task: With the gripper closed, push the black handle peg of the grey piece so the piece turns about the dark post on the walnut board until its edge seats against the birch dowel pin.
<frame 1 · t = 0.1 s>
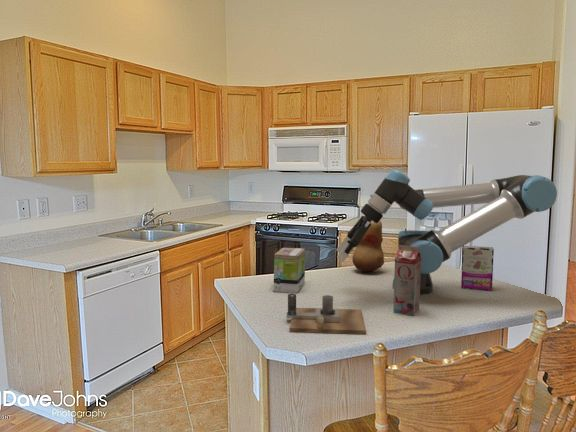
hand: (339, 255, 157), 15 cm above the counter, tool tilted 35°, fingers open, 13 cm apart
board: (327, 321, 134), on the counter
tea box: (289, 287, 172), on the counter
candy bar box: (476, 288, 170), on the counter
juice carton: (406, 312, 143), on the counter
grey piece: (313, 306, 134), point 5 cm above the counter, hinge at 0.0°
butternut squash: (367, 272, 195), on the counter
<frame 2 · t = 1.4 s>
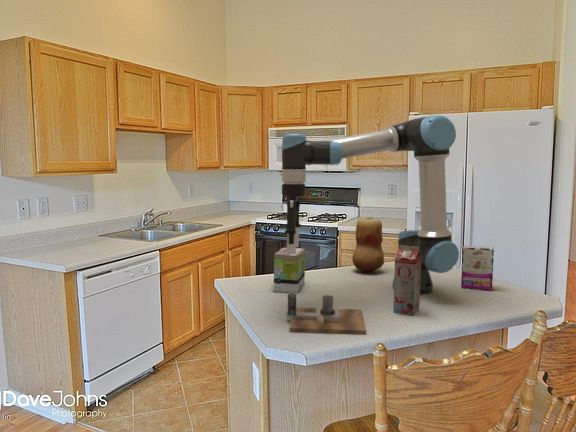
hand: (293, 250, 140), 21 cm above the counter, tool pointing down, fingers open, 12 cm apart
nothing on the counter moved.
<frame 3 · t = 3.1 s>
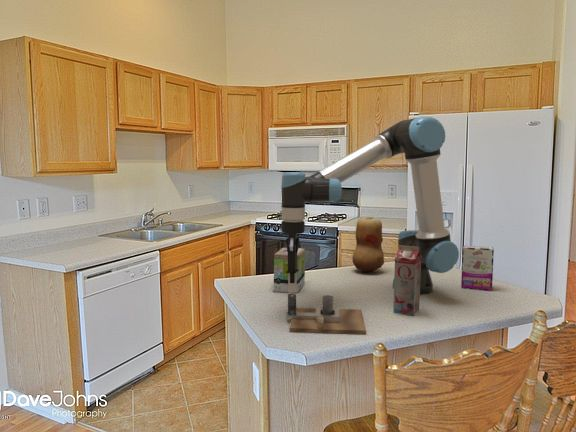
hand: (292, 291, 142), 7 cm above the counter, tool pointing down, fingers closed
nothing on the counter moved.
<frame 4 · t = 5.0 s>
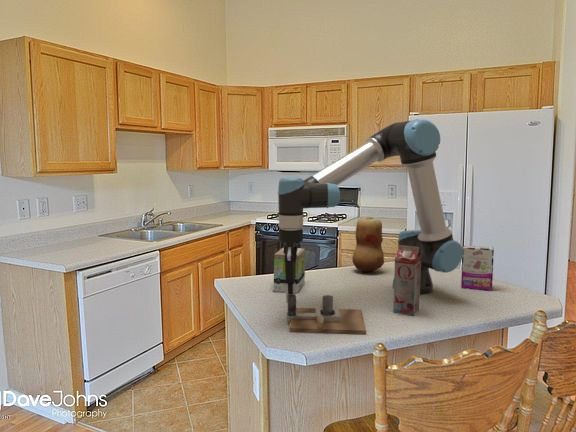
hand: (290, 302, 135), 5 cm above the counter, tool pointing down, fingers closed
grey piece: (313, 306, 133), point 5 cm above the counter, hinge at 3.7°, touching gripper
everything else where it was.
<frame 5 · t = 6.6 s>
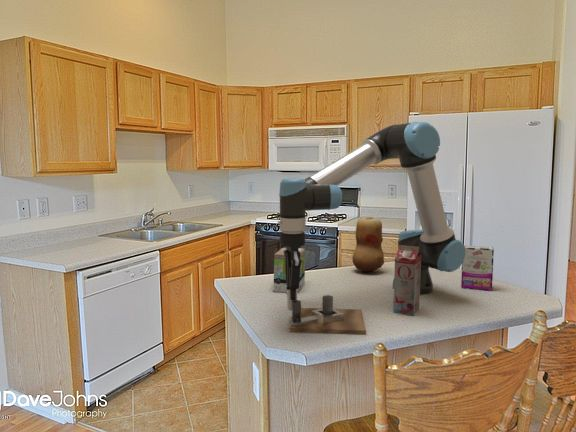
hand: (292, 309, 130), 5 cm above the counter, tool pointing down, fingers closed
grey piece: (315, 309, 131), point 5 cm above the counter, hinge at 33.7°, touching gripper
everything else where it was.
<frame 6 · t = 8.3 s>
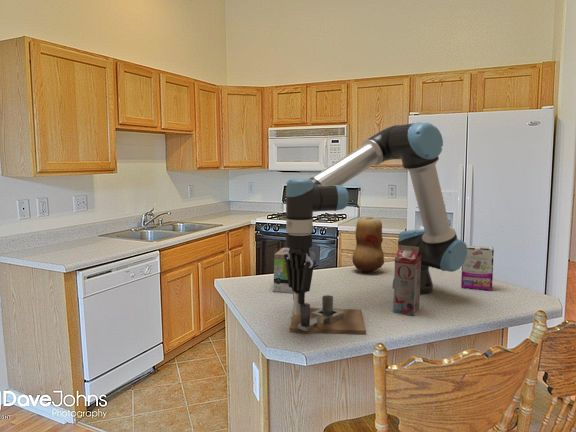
hand: (298, 313, 126), 5 cm above the counter, tool pointing down, fingers closed
grey piece: (318, 310, 130), point 5 cm above the counter, hinge at 54.3°, touching gripper
everything else where it was.
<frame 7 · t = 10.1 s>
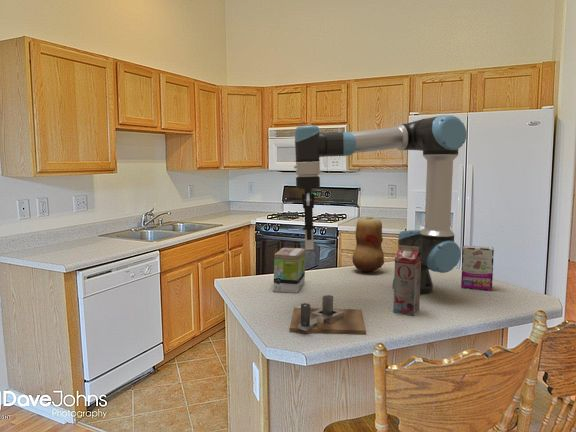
hand: (309, 249, 140), 21 cm above the counter, tool pointing down, fingers closed
grey piece: (318, 310, 130), point 5 cm above the counter, hinge at 54.4°
everything else where it was.
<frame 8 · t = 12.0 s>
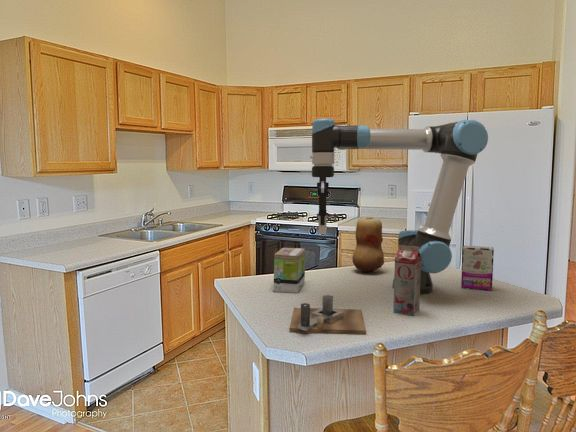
hand: (322, 234, 150), 24 cm above the counter, tool pointing down, fingers closed
nothing on the counter moved.
at the end: grey piece at +54° (first picture: +0°) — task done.
